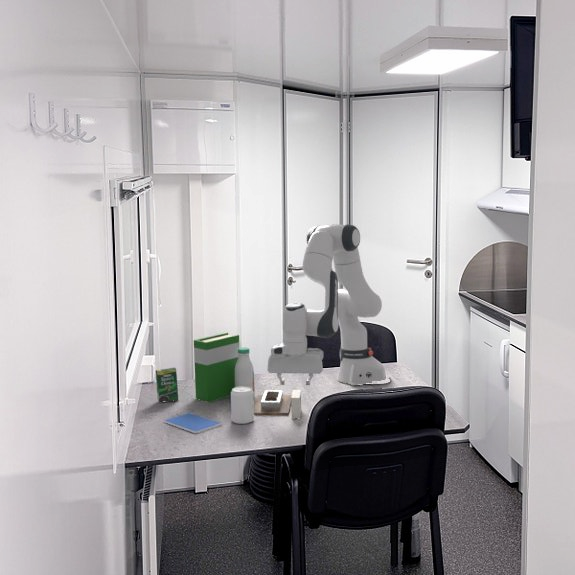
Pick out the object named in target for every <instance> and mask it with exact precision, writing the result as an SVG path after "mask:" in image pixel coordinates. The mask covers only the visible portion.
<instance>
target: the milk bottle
mask: <svg viewBox="0 0 575 575" xmlns="http://www.w3.org/2000/svg"><path fill="white" fill-rule="evenodd" d="M238 354H239V357H238V360H237V363H236V365H235V387H240V386H246V387H250V388H252V391H253V398H254V397H255V371H254V364H253V362H252V360H251V358H250V348H249V347H245V346H244V347H240V348H238Z"/></svg>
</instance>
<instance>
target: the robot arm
mask: <svg viewBox="0 0 575 575" xmlns="http://www.w3.org/2000/svg"><path fill="white" fill-rule="evenodd" d="M360 242H361V234H360V230H359V229H358V228H357V227H356V225H353V224H337V223H336V224H335V223H334V224H327V225H315V226H313V227H311V228H310V229H309V230H308V231H307V235H306V244H307V246H306V248H305V250H304V251H305V252H304V255H303V260H302V270H303V272H304V274H305V275H306V277H307V278H308V279H310V280H311V281H313V282H314V283H317V284H319V285H321V286H322V287H323V288H324V289H325V293H324V295H325V296H324V308H323V309H322V310H316V309H309V308H308V309H307V308H306V306H305V304H303V303H302V302H301V303H300V302H292V303H287V305H285V307H284V309H283V313H282V314H283V315H282V331H283V338H282V342H280V343H277V344H273V345H272V346H271V348H270V354H269V357H268V360H267V372H268V373H270V374H276V375H277V378H278V380H279V381H280V382H279V384H280V386H285V378H282V374H308V376H309V378H308V379H306V380H305V385H306V386H311V380H312V378H313V376H314V374H315V375H316V374H322V372H323V371H324V370H323V369H324V368H323V361H322V360H324V351H323V350H322V349H320V348H319V347H315V348H313V347H308V338H307V336H311V337H312V336H313V337H319V338H325V339H330V338H331V337H333V336H335V335H336V333H337V332H338V331H339V330H338V329H340V343H341V344H340V348H339V360H340V366H339V372H338V376H337V381H338V382H340V383H342V382H343V384H346V383H348V385H350V384H351V385H350V386H352V385H358V384H366V383H372V381H381V380H385V379H386V374H387V373H386V370H385V367H384V365H383V363H382V362H380V361H379V360H378V359H376V358H375V357H374V356H373V355H374V351H373V350H372V348H371V347H368V330H367V328H366V327H365V325H363V324H362V323H361V322H360V320H359V318H365V319H366V318H367V319H368V318H375V317H376V316H379V314H380V312H381V310H382V305H383V304H382V299H381V297H380V296H379V295H378V294H377V293H375V292H374V290H373V289H372V288H371V287H370V285H369V284H368V282H367V281H366V279H365V276H364V272H363V268H362V267H363V266H362V262H361V256H360V252H359V246H360ZM332 266H334V270H333V267H332ZM339 284H340V285H342V286H343V287H344V288H339Z"/></svg>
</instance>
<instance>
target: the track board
mask: <svg viewBox="0 0 575 575" xmlns="http://www.w3.org/2000/svg"><path fill="white" fill-rule="evenodd" d="M263 395H264V394H257V395H256V398H255V399H254V416H289V413H290V411H291V410H290V409H291V397H292V394H283V399H282V403H281V407H280V410H261V400H262V397H263ZM267 401H277V399H268V400H267Z"/></svg>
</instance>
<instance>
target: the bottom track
mask: <svg viewBox="0 0 575 575" xmlns="http://www.w3.org/2000/svg"><path fill="white" fill-rule="evenodd" d="M283 392H284V391H283V390H264V393H263V394H262V395H263V397H262V400H261V410H280V407H281V403H282V399H283V395H284V394H283ZM268 399H277V401H267V400H268Z"/></svg>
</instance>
